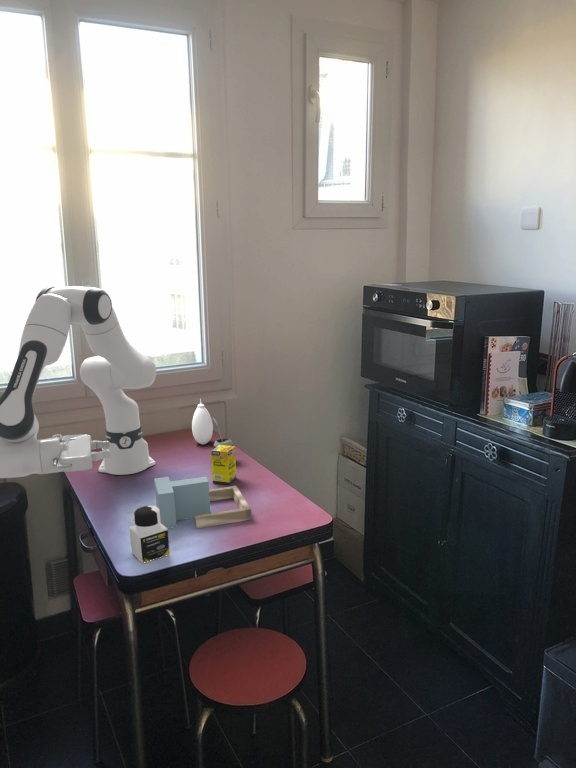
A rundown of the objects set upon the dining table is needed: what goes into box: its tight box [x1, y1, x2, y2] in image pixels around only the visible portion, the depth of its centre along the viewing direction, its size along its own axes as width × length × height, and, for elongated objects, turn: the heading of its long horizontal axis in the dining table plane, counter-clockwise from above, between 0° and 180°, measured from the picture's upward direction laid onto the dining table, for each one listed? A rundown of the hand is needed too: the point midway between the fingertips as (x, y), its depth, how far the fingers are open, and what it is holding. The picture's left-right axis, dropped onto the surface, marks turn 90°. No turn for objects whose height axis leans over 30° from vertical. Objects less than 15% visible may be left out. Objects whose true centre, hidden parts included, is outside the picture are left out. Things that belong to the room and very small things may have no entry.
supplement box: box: [210, 445, 237, 485], centre depth 198 cm, size 6×6×11 cm
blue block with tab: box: [153, 476, 211, 529], centre depth 173 cm, size 12×14×10 cm
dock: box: [195, 485, 252, 529], centre depth 176 cm, size 18×15×3 cm
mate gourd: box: [212, 417, 235, 450], centre depth 214 cm, size 8×8×15 cm
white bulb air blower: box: [191, 397, 214, 446], centre depth 234 cm, size 8×8×18 cm
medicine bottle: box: [129, 505, 171, 564], centre depth 152 cm, size 7×7×12 cm
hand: (110, 448), depth 164 cm, fingers open, 6 cm apart
